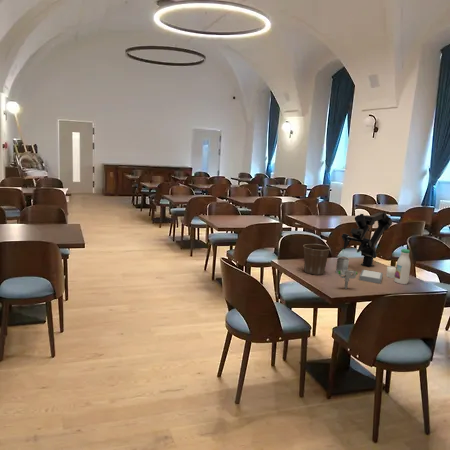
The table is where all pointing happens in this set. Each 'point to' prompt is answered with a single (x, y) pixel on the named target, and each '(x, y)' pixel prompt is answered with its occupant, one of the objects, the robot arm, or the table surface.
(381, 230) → the robot arm
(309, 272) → the plant pot
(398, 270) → the milk bottle
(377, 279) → the stand
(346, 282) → the mechanical component
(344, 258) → the housing
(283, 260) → the table surface
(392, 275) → the white short cylinder
